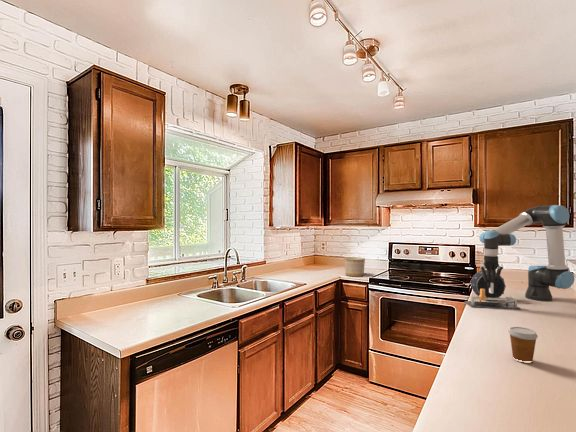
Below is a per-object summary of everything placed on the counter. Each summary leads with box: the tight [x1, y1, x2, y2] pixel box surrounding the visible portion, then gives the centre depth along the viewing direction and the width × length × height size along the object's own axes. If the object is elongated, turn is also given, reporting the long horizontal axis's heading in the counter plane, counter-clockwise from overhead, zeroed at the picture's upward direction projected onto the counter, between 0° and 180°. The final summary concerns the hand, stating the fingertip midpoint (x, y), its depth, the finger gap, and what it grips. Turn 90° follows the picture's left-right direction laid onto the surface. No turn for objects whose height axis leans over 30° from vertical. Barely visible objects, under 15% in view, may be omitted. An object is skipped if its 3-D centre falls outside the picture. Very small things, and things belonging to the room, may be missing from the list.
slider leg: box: [478, 289, 487, 304], centre depth 211 cm, size 3×6×10 cm, turn 172°
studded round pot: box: [470, 269, 507, 298], centre depth 229 cm, size 11×20×20 cm, turn 78°
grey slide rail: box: [470, 296, 518, 307], centre depth 211 cm, size 26×5×7 cm, turn 81°
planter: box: [344, 256, 366, 278], centre depth 319 cm, size 19×19×16 cm
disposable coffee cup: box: [508, 326, 539, 361], centre depth 133 cm, size 10×10×12 cm
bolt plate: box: [464, 300, 521, 311], centre depth 213 cm, size 28×12×1 cm, turn 81°
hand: (491, 292), depth 210 cm, fingers closed
